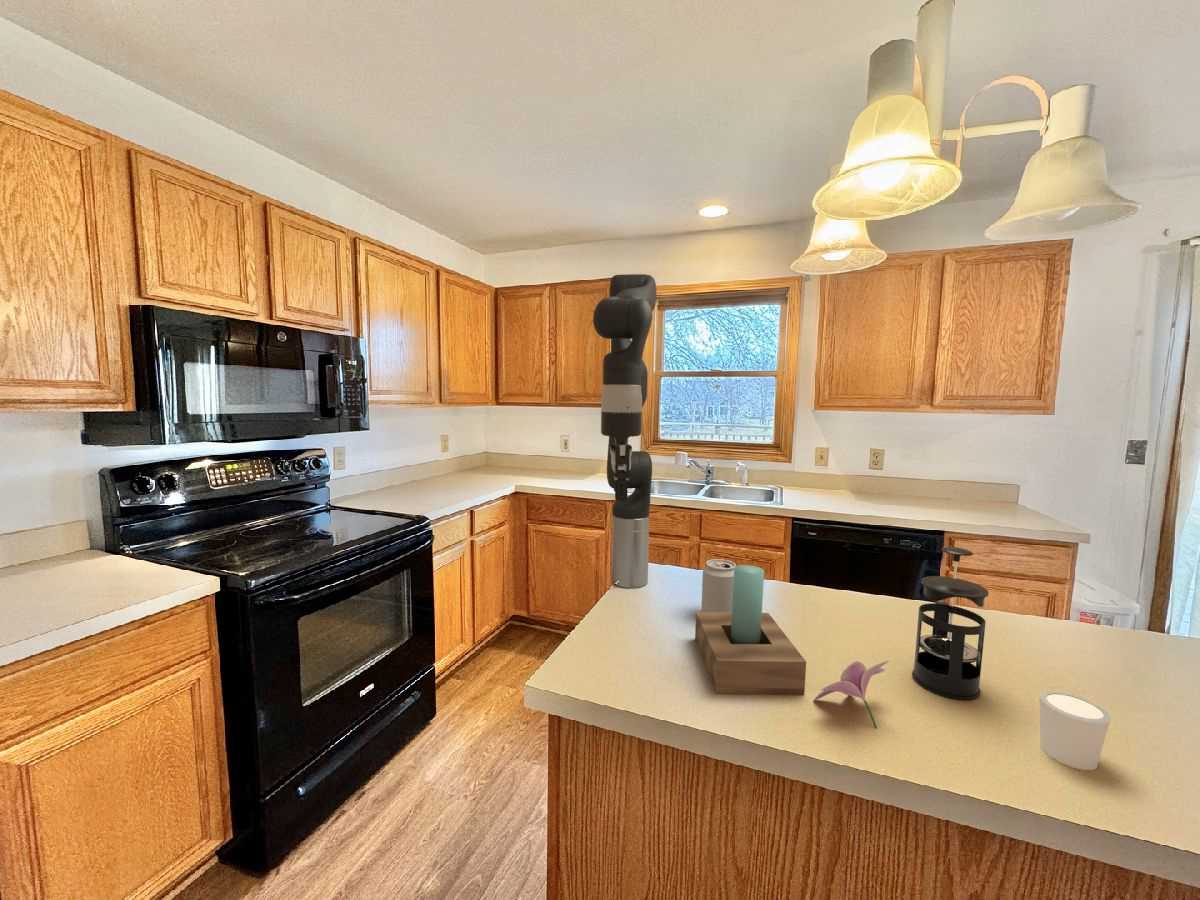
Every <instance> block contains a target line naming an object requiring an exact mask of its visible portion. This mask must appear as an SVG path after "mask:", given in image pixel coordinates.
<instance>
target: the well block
mask: <svg viewBox="0 0 1200 900" xmlns="http://www.w3.org/2000/svg"><path fill="white" fill-rule="evenodd" d="M731 619H732V612H701V611H697V612H695V625H694V626H695V628H694V630H695V632H694V633H695V635H694V640H695V642H696V645H697V648H698V650H699V653H700V655H701V657H702V660H703V663H704V665H705V669H706V671H707V673H708V675H709V678H710V681H711V684H712V686H713V689H714V691H715V694H716V695H717V694H718V695H721V694H723V695H801V696H802V695H805V691H806V689H805V688H806V673H807V672H806V671H807V661H806V659H805V658H804V656H803V655H802V654H801V653H800V652H799V651H798V649H797V648H796V647H795V645H794V644H793V643H792V642H791V640H790V638H789V637H788V636H787V635H786V633H785V632H784V631H783V630H782V628H781V627H780V626H779V625H778V623H777V621H775V619H774V618H773V617H772V615H771V614H770V613H769V612H762V618H761V635H760V644H731V643H730V638H731Z"/></svg>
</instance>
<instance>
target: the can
mask: <svg viewBox="0 0 1200 900" xmlns="http://www.w3.org/2000/svg"><path fill="white" fill-rule="evenodd" d="M735 566H737V564H736V563H735V562H734V561H732V560H727V559H723V558H721V559H720V558H715V559H714V558H713V559H708V560H706V562H705V566H704V567H702V581H701V583H702V586H701V611H700V612H732V601H733V583H734V567H735Z"/></svg>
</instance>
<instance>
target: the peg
mask: <svg viewBox="0 0 1200 900" xmlns="http://www.w3.org/2000/svg"><path fill="white" fill-rule="evenodd" d="M764 581H765V570H764V569H763V568H761V567H759V566H755V565H749V564H748V565H747V564H739V565H736V566H735V567H734V583H733V601H732V619H731V638H730V643H731V644H760V635H761V618H762V613H763V600H764V599H763V597H764V583H765V582H764Z"/></svg>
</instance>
